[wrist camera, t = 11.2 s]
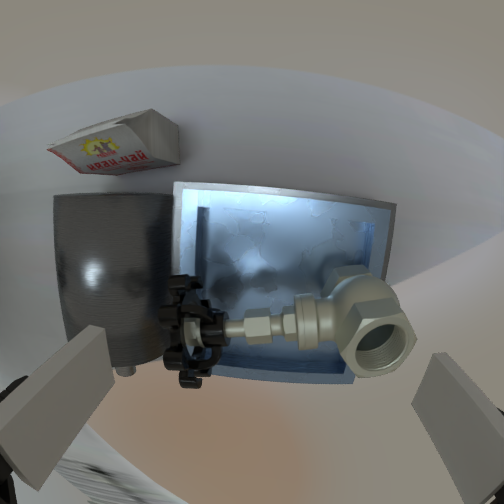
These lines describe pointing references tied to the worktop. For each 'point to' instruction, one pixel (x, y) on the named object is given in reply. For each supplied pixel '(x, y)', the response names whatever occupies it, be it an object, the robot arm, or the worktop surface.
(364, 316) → the valve
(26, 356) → the worktop surface
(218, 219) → the motor
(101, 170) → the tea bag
